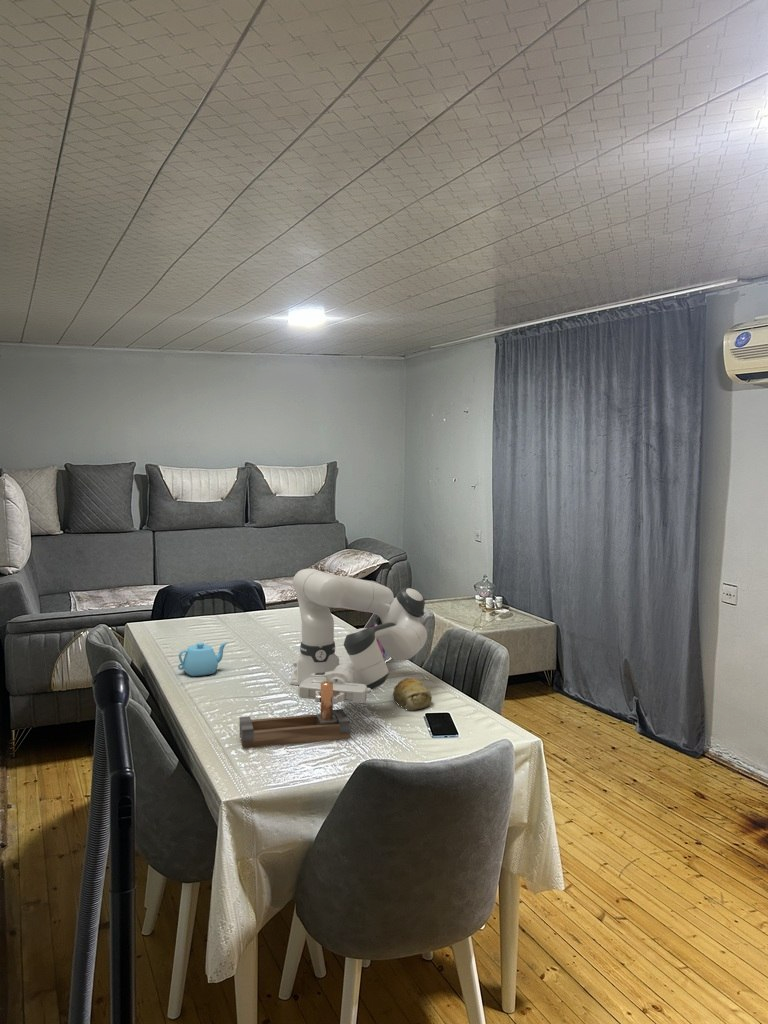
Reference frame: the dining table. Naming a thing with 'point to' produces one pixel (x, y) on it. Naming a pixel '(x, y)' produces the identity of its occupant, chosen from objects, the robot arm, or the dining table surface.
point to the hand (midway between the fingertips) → (325, 700)
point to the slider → (326, 705)
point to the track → (292, 730)
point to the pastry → (411, 694)
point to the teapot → (200, 659)
